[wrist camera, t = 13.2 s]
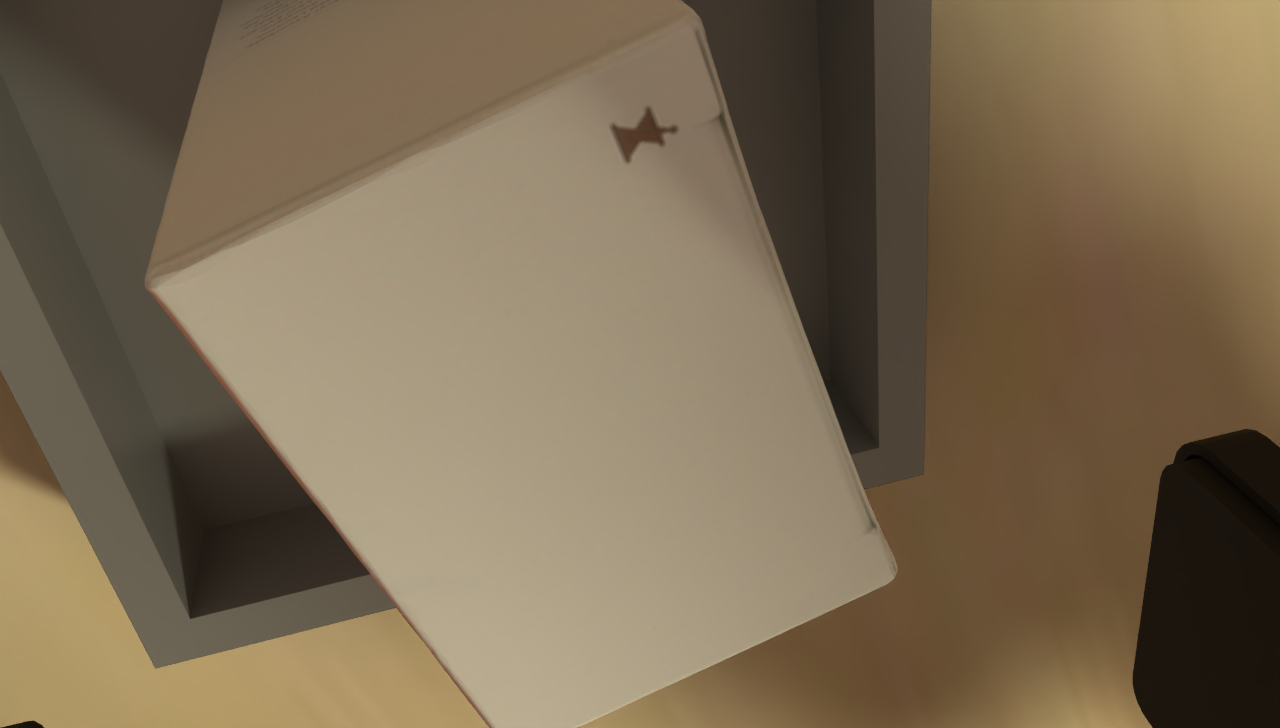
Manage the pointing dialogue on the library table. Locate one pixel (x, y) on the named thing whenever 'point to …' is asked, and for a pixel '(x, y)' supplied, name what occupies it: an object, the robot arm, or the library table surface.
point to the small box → (517, 335)
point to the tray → (217, 427)
